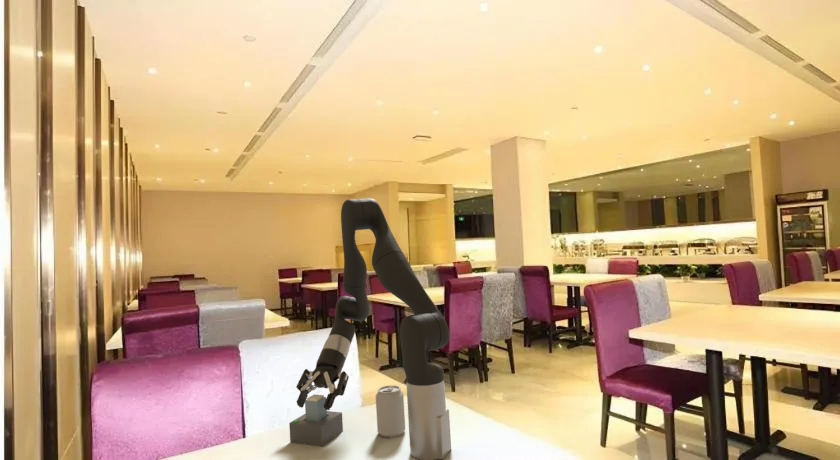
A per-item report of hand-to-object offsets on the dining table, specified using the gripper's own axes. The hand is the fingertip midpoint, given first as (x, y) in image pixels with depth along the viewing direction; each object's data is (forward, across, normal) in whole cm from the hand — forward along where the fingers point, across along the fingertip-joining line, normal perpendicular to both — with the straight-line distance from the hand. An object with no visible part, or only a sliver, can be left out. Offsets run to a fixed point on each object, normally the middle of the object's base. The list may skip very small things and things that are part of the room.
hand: (312, 407), depth 122 cm
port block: (+5, 0, +7) cm, 8 cm away
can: (0, +19, +12) cm, 22 cm away
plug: (+4, 0, +6) cm, 7 cm away
